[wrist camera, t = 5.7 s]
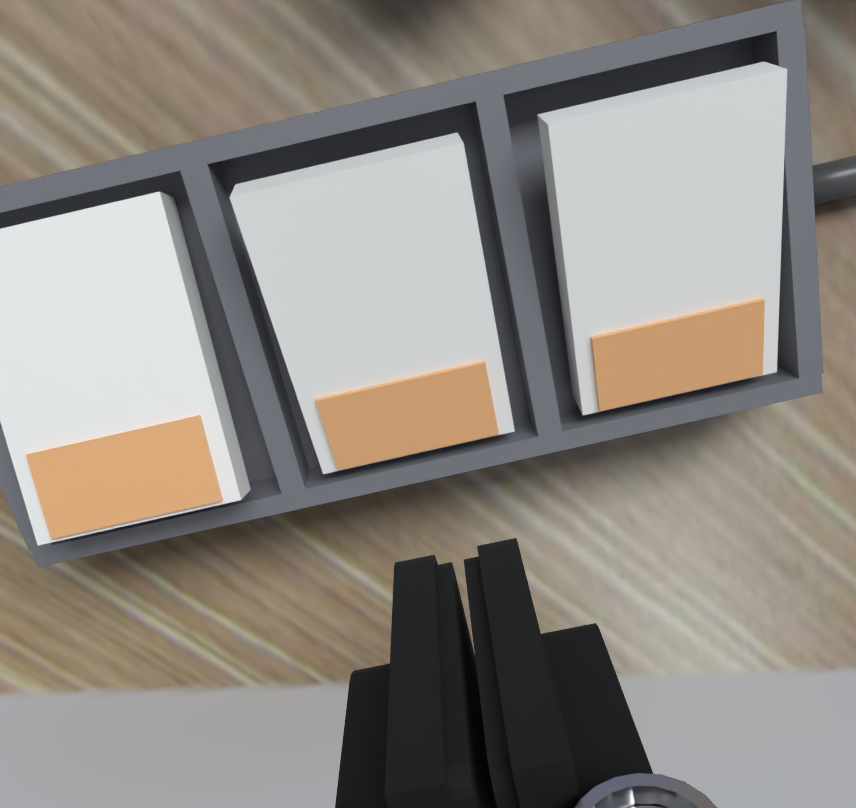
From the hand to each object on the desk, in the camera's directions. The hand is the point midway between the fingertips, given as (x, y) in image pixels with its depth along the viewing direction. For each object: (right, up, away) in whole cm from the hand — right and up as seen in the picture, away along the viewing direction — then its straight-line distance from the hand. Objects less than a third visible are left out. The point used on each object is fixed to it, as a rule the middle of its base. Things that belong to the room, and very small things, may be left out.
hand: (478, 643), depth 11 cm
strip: (0, +7, +11) cm, 13 cm away
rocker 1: (-8, +4, +8) cm, 12 cm away
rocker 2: (+5, +7, +8) cm, 11 cm away
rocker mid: (-2, +5, +8) cm, 10 cm away
